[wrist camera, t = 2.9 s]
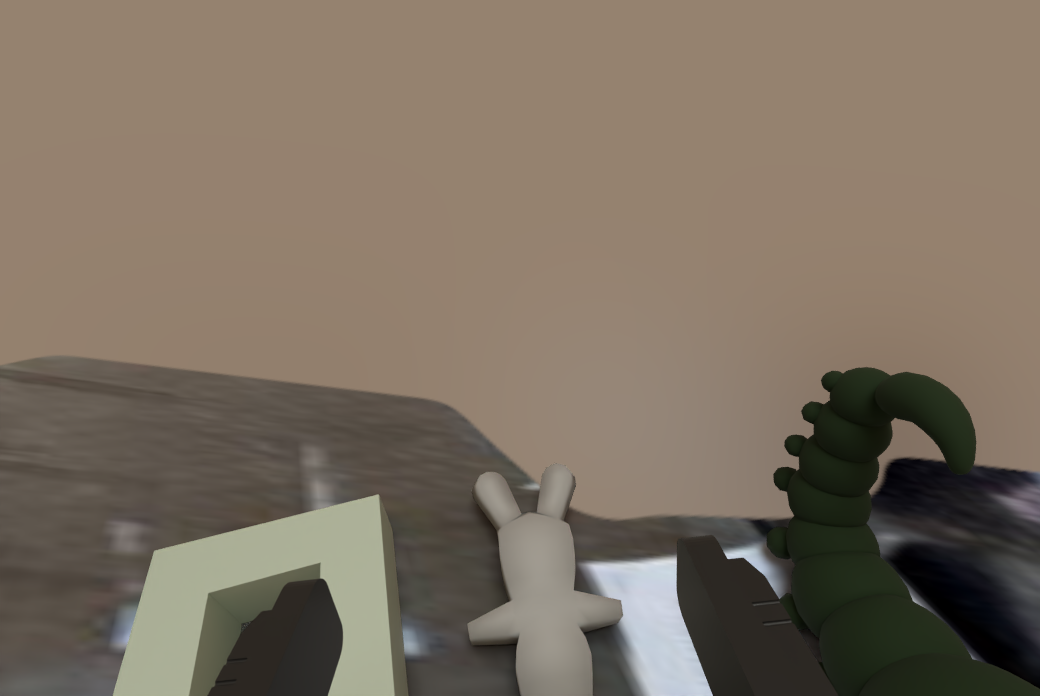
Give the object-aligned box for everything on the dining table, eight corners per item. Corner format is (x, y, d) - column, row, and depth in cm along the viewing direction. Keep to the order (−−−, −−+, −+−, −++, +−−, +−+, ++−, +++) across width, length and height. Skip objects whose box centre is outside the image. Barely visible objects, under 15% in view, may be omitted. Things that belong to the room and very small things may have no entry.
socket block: (130, 863, 24) (65, 860, 20) (191, 584, 34) (154, 551, 31) (414, 760, 27) (398, 741, 23) (392, 530, 37) (378, 494, 33)
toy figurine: (714, 522, 39) (925, 1100, 18) (790, 326, 27) (1543, 1259, 7) (832, 522, 38) (1174, 1101, 18) (957, 324, 27) (2193, 1263, 7)
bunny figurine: (471, 725, 25) (457, 462, 34) (477, 732, 28) (463, 493, 38) (650, 694, 25) (586, 446, 35) (633, 705, 29) (579, 478, 39)
